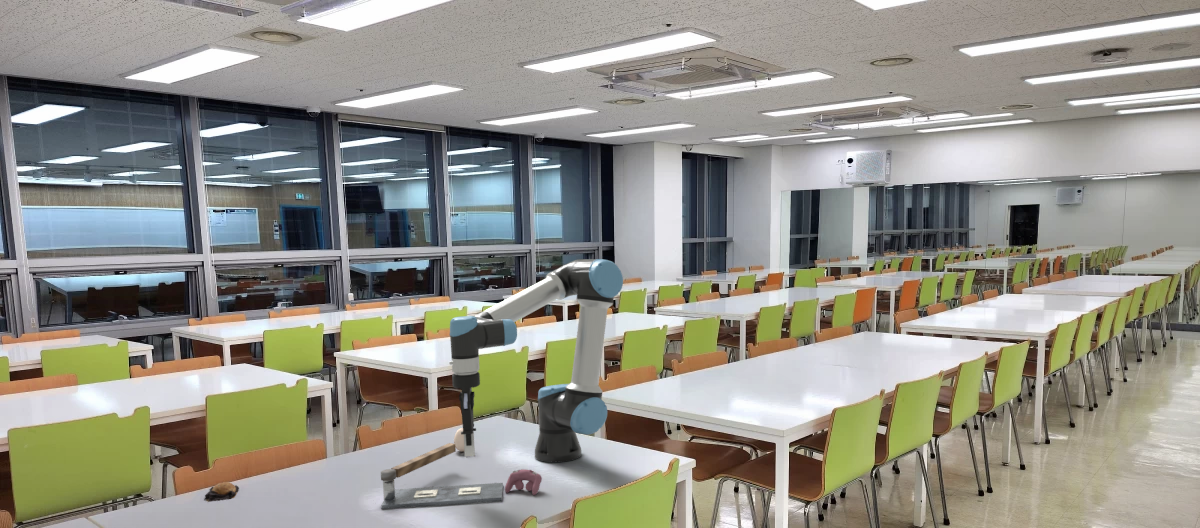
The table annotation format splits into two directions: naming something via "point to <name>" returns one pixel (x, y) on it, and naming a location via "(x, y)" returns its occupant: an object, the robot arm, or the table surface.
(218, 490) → the toy turtle
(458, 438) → the egg
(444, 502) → the board
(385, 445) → the table surface
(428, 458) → the swing bar
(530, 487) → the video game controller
